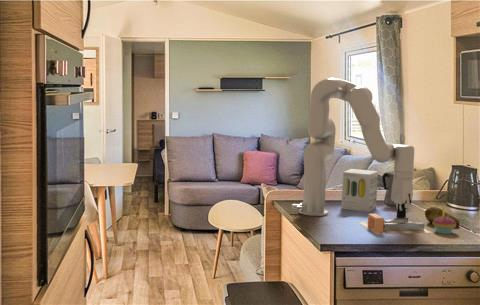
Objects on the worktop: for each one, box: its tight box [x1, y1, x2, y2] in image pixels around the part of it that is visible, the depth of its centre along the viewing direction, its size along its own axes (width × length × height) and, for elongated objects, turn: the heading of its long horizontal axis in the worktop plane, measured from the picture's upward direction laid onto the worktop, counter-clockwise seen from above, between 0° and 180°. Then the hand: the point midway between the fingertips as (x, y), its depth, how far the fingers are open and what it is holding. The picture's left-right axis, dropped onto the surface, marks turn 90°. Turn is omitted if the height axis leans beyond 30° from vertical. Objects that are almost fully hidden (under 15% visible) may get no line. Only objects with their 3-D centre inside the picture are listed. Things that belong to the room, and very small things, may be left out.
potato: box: [424, 206, 460, 228], centre depth 220 cm, size 8×13×8 cm, turn 44°
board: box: [358, 221, 433, 235], centre depth 213 cm, size 23×18×1 cm
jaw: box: [384, 216, 409, 223], centre depth 215 cm, size 14×2×3 cm, turn 128°
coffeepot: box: [381, 170, 396, 206], centre depth 266 cm, size 15×9×18 cm, turn 124°
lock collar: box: [367, 213, 385, 233], centre depth 208 cm, size 3×8×5 cm, turn 9°
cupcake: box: [431, 203, 457, 235], centre depth 208 cm, size 9×8×12 cm
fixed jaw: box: [383, 222, 425, 231], centre depth 210 cm, size 17×4×4 cm, turn 99°
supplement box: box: [340, 168, 379, 213], centre depth 253 cm, size 13×13×18 cm
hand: (401, 219), depth 222 cm, fingers closed
